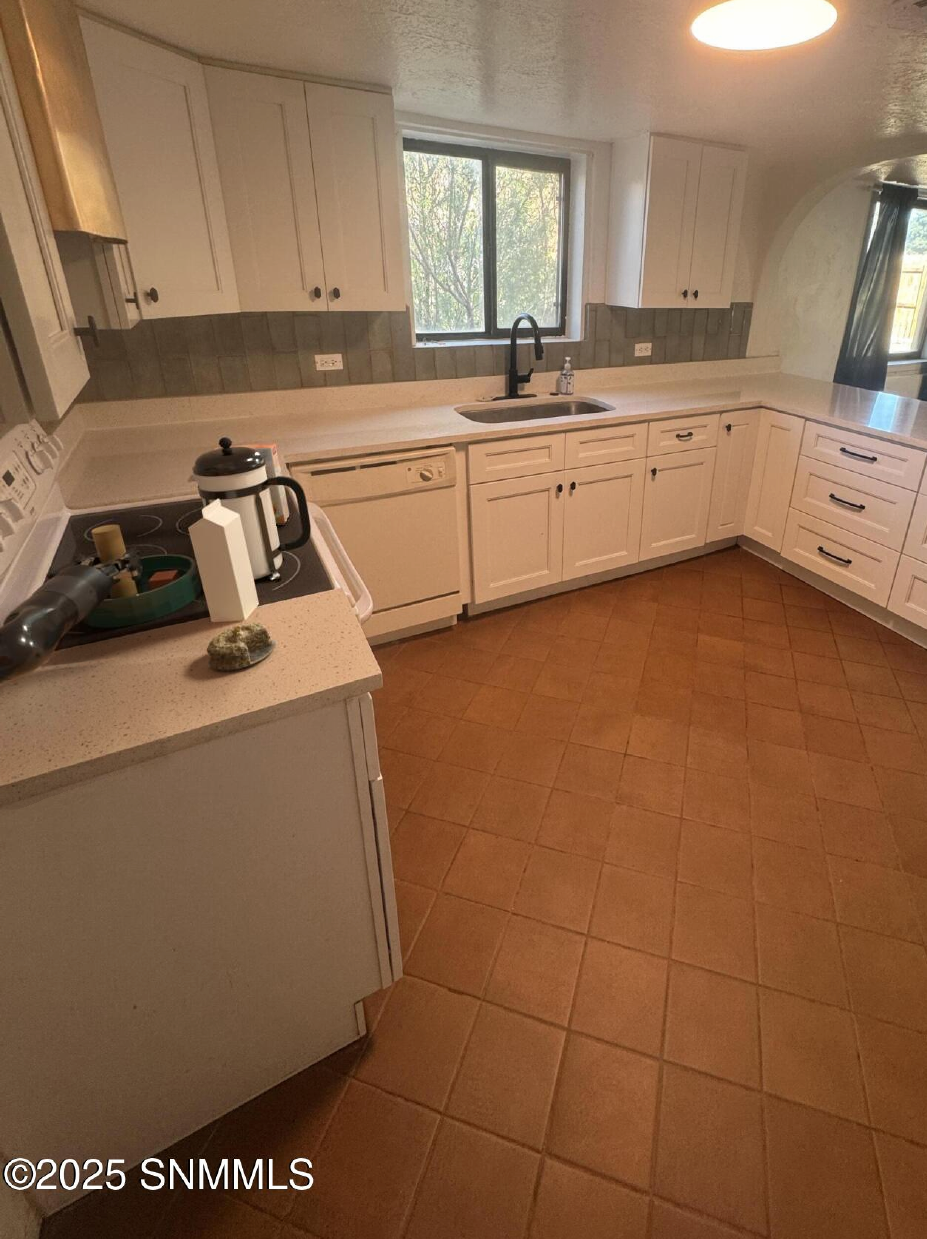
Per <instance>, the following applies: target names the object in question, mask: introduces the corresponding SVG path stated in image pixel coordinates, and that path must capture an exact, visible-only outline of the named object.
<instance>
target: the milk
mask: <svg viewBox="0 0 927 1239" xmlns="http://www.w3.org/2000/svg"><path fill="white" fill-rule="evenodd" d="M201 513H202V518H200V519H199V520H197V521H196V522H195V523H193V524H192V525H190V526H188V533H189V538H190V541H191V546H192V549H193V553H194V557H195V562H196V566H197V570H198V574H199V578H200V582H201V586H202V589H203V592H204V597H205V600H206V606H207V609H208V612H209V618H210V620H211V622H212V623H213V622H216V623H217V622H239V621H240V622H241V621H246V620H247V619H248V618H249V617H250V615H251V614H252V613H253V612H254V611H255V609H257V607H258V606H259V605H260V603H259V598H258V592H257V589H256V588H257V587H256V584H255V579H253V574H252V570H251V565H250V560H249V556H248V551H247V547H246V542H245V537H244V533H243V528H242V524H241V519H240V515H239V514H238V513H235V512H233V511H231V510H229V509H227V508H224V507H222V506H221V503H220V500H219V499H217V500H215V501H214V502H212V503H211V504H209V505H208V506H206V507H205V508H204V507H203V508H202V509H201Z"/></svg>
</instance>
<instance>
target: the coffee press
mask: <svg viewBox="0 0 927 1239" xmlns="http://www.w3.org/2000/svg"><path fill="white" fill-rule="evenodd" d="M218 445H219V447H222V448H221V449H216V450H214V449H212V450H209V451H206V452H204V453H202V454H201V455H199V456H198V457H197V458H196V459H195V461H194V466H192V468H191V470H192V473H191V474H190V475H189V477H188V479H187V483H191V482H192V483H193V482H195V483H197V484H198V485H197V490H198V495H199V497H200V498H201V502H202V506H203V508H205V507H206V506H208V505H209V504H211V503H212V502H214V501H215V500H217V499H219V500H220V503H221V506H222V507H224V508H227V509H229V510H231V511H233V512H235V513H238V514H239V515H240V519H241V524H242V528H243V533H244V537H245V542H246V547H247V551H248V556H249V560H250V565H251V570H252V574H253V579H254V580H258V579H262V578H264V577H266V578H267V579H269V581H273V580H275V582H276V584H277V583H278V582H280V581H282V576H281V575H280V573H279V571H278V570H279V569H280V567H281V566H282V564H283V561H284V562H285V558H284V557H283V554H282V552H286V551H292V550H296V549H298V548H301V547H303V546H304V545H306V544H307V542H308V541H309V539H310V537H311V532H312V531H311V530H312V527H311V518H310V513H309V507H308V502H307V497H306V494H305V490H304V488H303V486H302V485H301V484H300V482H298V481H297V480H296V479H295V478H293V477H289V476H286V475H285V476H284V475H282V476H277V477H274V478H268V476H267V475H266V470H265V465H266V459H265V458H264V457H262V455H261V453H260V452H258V451H257V450H255V449H252V448H248V447H231V446H233V441H232V440H231V438H229V437H227V436H226V437H225V436H224V437H221V438H219V441H218ZM271 485H284V487H288V488H289V489H291V490H292V491H293V493H294V495H295V498H296V501H297V503H296V504H297V509H298V513H299V520H300V525H301V534H300V536H299V537H298V538H297V539H294V540H290V541H281V540H280V538H279V533H278V528H277V527H278V526H276V522H275V516H274V511H273V506H272V501H271V496H270V491H269V486H271Z"/></svg>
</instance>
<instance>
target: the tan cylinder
mask: <svg viewBox="0 0 927 1239" xmlns="http://www.w3.org/2000/svg"><path fill="white" fill-rule="evenodd" d="M90 533H91V535H92V539H93V542H94V546H95V549H96V552H97V553H96V554H98V556H99V559H100V563H101V564H102V563H104V562H106V561H108V560H110V559H112V558H119V557H121V556H123V554H125V553H126V552H127V549H126V545H125V542H124V538H123V535H122V531H121V528H120V525H119V524H107V525H102V526H101V525H100V526H98V527H95V528H93V529H92V530H91V531H90ZM122 566H123V567H124V564H123V562H122ZM109 593H110V597H111V599H115V598H122V597H128V596H133V595H137V594H138V592H137V588H136V585H135V581H134V580H132V578H129V577H126V578H122V579H121V580H120V581H119V582H118V583H116V584H114V585H112V586H111V589H110V592H109Z"/></svg>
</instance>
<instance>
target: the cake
mask: <svg viewBox="0 0 927 1239" xmlns="http://www.w3.org/2000/svg"><path fill="white" fill-rule="evenodd" d="M269 631H270V630H268V628H267V627H265V625H263V624H261V623H259V622H252V623H245V624H240V625H235V626H233V627H231V628H228V629H226V630H224V631H222V632H220V633H219V634H217V635H216V636H214V637H213V638H212V640H210V642H209V643H208V646H207V648H206V653H207V654H208V655H209V660H208V666H209V668H211V669H213V670H216V671H234V670H239V669H243V668H246V667H248V666H252V665H254V664H256V663H259V662H260V661H262V660H263V659H266V658H267V657H268V656H269V655H270V654H271V653H272V652H274V650H275V648H276V642H275V640H274V639H273V638H271V637H272V635H270V633H269Z"/></svg>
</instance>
